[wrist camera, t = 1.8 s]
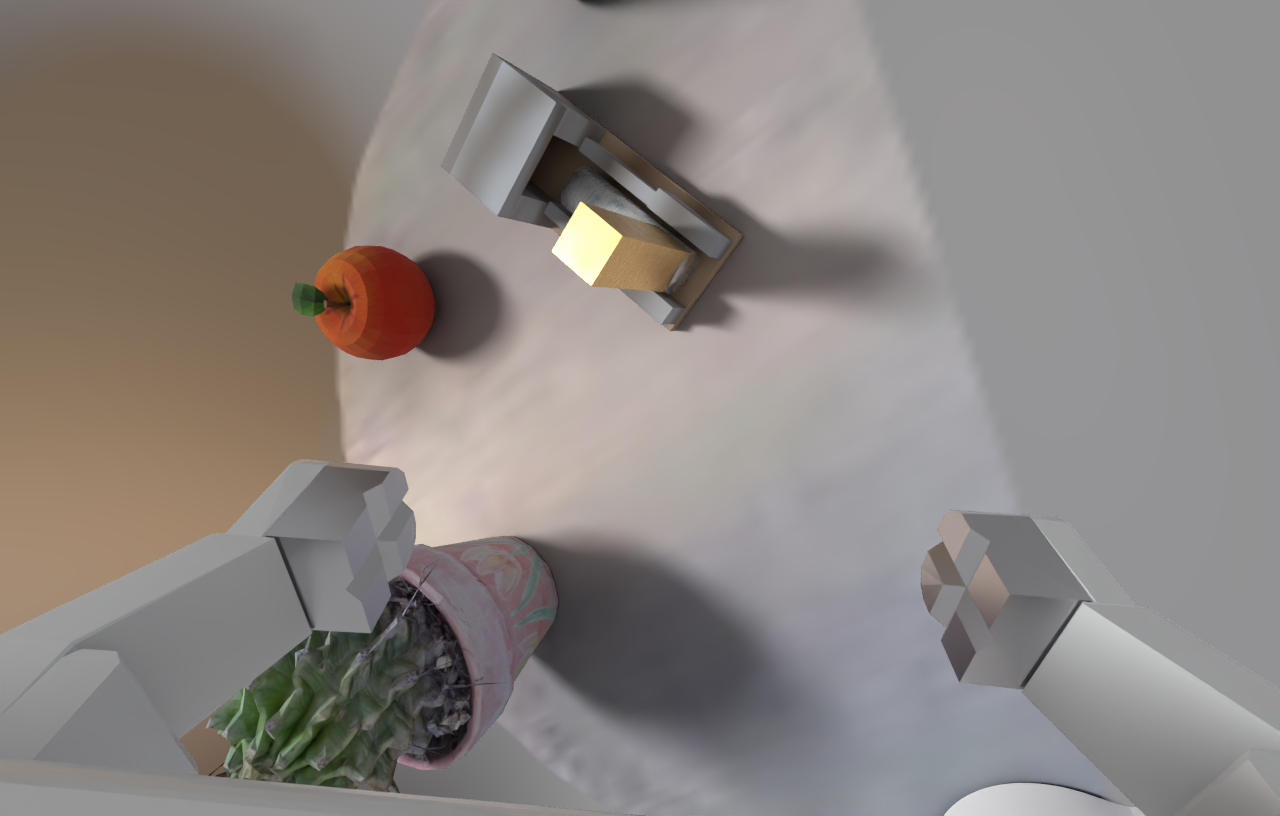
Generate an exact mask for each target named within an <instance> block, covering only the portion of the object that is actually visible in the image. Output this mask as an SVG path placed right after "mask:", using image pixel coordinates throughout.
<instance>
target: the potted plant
mask: <svg viewBox="0 0 1280 816" xmlns="http://www.w3.org/2000/svg"><path fill="white" fill-rule="evenodd" d="M388 585H389V589H390V593H391V597H390V599H389V601H388V602H387V604H386V606H385V608H384V610H383V612H382V614H381V616H380V618H379V619H378V621H377V623H376V625H375V627H374V629H373V631H372V633H358V632H339V631H321V630H311V631H312V634H311V635H309V636H308V637H307V638H306V639H304V640H303V641H302V642H301V643H299V644H298V645H297V646H296V647H294V648H293V649H292V650H291V651H289V652H288V653H287V654H286V655H284V656H283V657H282V658H280V659H279V660H278V661H277V662H275V663H274V664H273V665H272V666H270V667H269V668H268V669H267V670H265V671H264V672H263V673H262V674H260V675H259V676H258V677H257V678H255V679H254V680H253V681H252V682H250V683H249V684H248V685H247V686H245V687H244V688H243V689H241V690H240V691H239V692H238V693H236V695H235V696H234V697H233V698H232V700H230V701H229V702H228V703H227V704H225V705H224V706H223V707H222V708H221V709H219V710H218V711H217V712H216V713H215V714H213V715H212V716H211V718H210V720H209V722H208V724H207V727H206V728H214V729H218V730H219V731H218V733H217V734H218V735H220V736H223V737H224V738H226V739H227V740H229V741H230V742H231V748H230V750H229V753H228V756H227V758H226V761H225V762H224V763H223V764H224V769H225V772H224V773H221V774H218V775H216V776H215V777H226V778H237V779H248V780H259V781H270V782H281V783H292V784H303V785H314V786H325V787H337V788H348V789H357V787H358V786H360V785H363V784H365V783H367V784H368V785H370V786H371V787H372V788H373V789H374V790H375V791H381V792H389V790H388V788H389V787H390V785H391V786H392V787H393V788H394V789H395V790H396V791H397V792H398V793H400V792H399V790H398V788H397V786H396V784H395V782H394V780H393V775H394V771H395V767H396V763H397V762H399V763H402V764H405V765H408V766H411V767H414V768H417V769H420V770H432V769H447V768H448V767H450V766H451V765H452V764H454V763H455V762H457V761H458V760H460V759H461V758H462V757H464V756H465V755H466V754H467V753H468V752H469V751H470V750H471V749H472V747H473V746H474V745H475V744H476V743H477V741H478V740H479V739H480V738H481V737H482V736H483V735H484V734H485V732H486V731H487V730H488V729H489V728H490V727H491V725H492V724H493V723H494V722H495V721H496V720H497V719H498V717H499V716H500V715H501V714H502V712H503V710H504V708H505V706H506V704H507V702H508V700H509V698H510V696H511V694H512V691H513V684H514V681H515V680H516V678H517V677H518V675H519V673H520V672H521V670H522V669H523V667H524V666H525V664H526V662H527V661H528V659H529V658H530V656H531V655H532V653H533V652H534V650H535V649H536V647H537V646H538V644H539V643H540V641H541V640H542V638H543V637H544V635H545V634H546V633H547V631H548V630H549V628H550V627H551V625H552V624H553V622H554V621H555V618H556V612H557V606H558V601H559V600H558V596H557V591H556V587H555V582H554V579H553V576H552V574H551V571H550V569H549V566H548V565H547V563H546V562H545V561H544V560H543V559H542V558H541V557H540V555H539V554H538V553H537V552H536V551H535V550H534V548H533V547H531V546H530V545H528V544H526V543H525V542H523V541H521V540H519V539H518V538H516V537H491V538H485V539H479V540H473V541H467V542H462V543H456V544H450V545H444V546H438V547H429V546H426V545H423V544H418V545H414V547H413V551H412V556H411V558H410V560H409V562H408V564H407V566H406V568H405V570H404V572H403V573H401V574H400V575H398V576H397V577H395V578H394V579H392V580H391V581H389V582H388ZM223 764H222V765H223ZM222 765H221V766H222ZM219 767H220V766H219ZM219 767H218V768H219ZM218 768H217V769H218ZM217 769H216V770H217ZM216 770H214V771H213V772H212V773H214V772H215V771H216ZM212 773H211V774H212ZM211 774H209V775H208V776H210V775H211Z"/></svg>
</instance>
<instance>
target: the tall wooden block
mask: <svg viewBox="0 0 1280 816" xmlns="http://www.w3.org/2000/svg"><path fill="white" fill-rule="evenodd" d="M561 203H562V205H563V206H564V207H565V208H566V209H567V210H569V211H570V212H571V213H572V214H573V215H572V217H571V219H570V221H569V222H568V224H567V226H566V228H565V229H564V231H563V233H562V235H561V236H560V238H559V240H558V241H557V243H556V245H555V247H554V248H553V250H552V252H553V253H554V254H555V255H556V256H557V257H559V258H560V259H561V260H562V261H563V262H564V263H565V264H567V265H568V266H569V267H570V268H571V269H572V270H573V271H575V272H576V273H577V274H578V275H579V276H580V277H581V278H583V279H584V280H585V281H586V282H587V283H588V284H589V285H591V286H596V287H608V288H620V289H632V290H644V291H656V292H666V293H667V294H671V293H673V292H675V291H676V290H678V289H679V288H680V287H681V286H682V285H683V284H684V283H685V282H686V281H687V280H688V279H689V277H690V276H691V275H692V273H693V272H694V270H695V268H696V266H697V264H698V260H699V255H698V254H697V253H696V252H695V251H693V250H692V249H691V248H690V247H689V246H687V245H686V244H685V243H684V242H682V241H681V240H680V239H679V238H677V237H676V236H675V235H674V234H672V233H671V232H670V231H669V230H667V229H666V228H665V227H664V226H662V225H661V224H660V223H659V222H657V221H656V220H655V219H654V218H652V217H651V216H650V215H649V214H648V213H646V212H645V211H644V210H643V209H641V208H640V207H639V206H638V205H636V204H635V203H634V202H633V201H631V200H630V199H629V198H628V197H626V196H625V195H624V194H623V193H621V192H620V191H619V190H618V189H616V188H615V187H614V186H613V185H611V184H610V183H609V182H608V181H607V180H605V179H604V178H603V177H602V176H600V175H599V174H598V173H597V172H595V171H594V170H593V169H592V168H590V167H581V168H579V169H577V170H576V171H575V172H574V173H572V174H571V175H570V177H569V178H568V179H567V181H566V182H565V184H564V186H563V189H562V192H561Z"/></svg>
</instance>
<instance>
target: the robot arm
mask: <svg viewBox="0 0 1280 816" xmlns="http://www.w3.org/2000/svg"><path fill="white" fill-rule="evenodd" d="M407 491H408V485H407V482H406V478H405V474H404V472H403V471H401V470H400V469H398V468H393V467H382V466H372V465H362V464H352V463H342V462H326V461H315V460H305V459H301V460H298V461H296V462H293V463H291V464H290V465H289V466H288V467H287V468H286V469H285V470H284V471H283V473H282V474H281V475H280V476H279V477H278V478H277V479H276V480H275V481H274V482H273V483H272V484H271V485H270V486H269V487H268V489H267V490H266V491H265V492H264V493H263V494H262V495H261V496H260V497H259V498H258V499H257V500H256V501H255V502H254V503H253V505H252V506H251V507H250V508H249V509H248V510H247V511H246V512H245V513H244V514H243V515H242V516H241V517H240V518H239V520H238V521H237V522H236V523H235V524H234V525H233V526H232V527H231V528H230V529H229V530H228V531H227V532H226V533H225V534H219V533H214V534H212V535H209V536H207V537H205V538H203V539H201V540H198V541H196V542H194V543H192V544H190V545H188V546H186V547H184V548H182V549H180V550H177V551H175V552H173V553H171V554H169V555H167V556H165V557H163V558H161V559H158V560H156V561H154V562H152V563H150V564H148V565H146V566H144V567H142V568H140V569H137V570H135V571H133V572H131V573H129V574H127V575H125V576H123V577H121V578H118V579H116V580H114V581H112V582H110V583H108V584H106V585H104V586H101V587H99V588H97V589H95V590H93V591H91V592H89V593H87V594H85V595H83V596H81V597H78V598H77V599H74V600H72V601H70V602H68V603H66V604H64V605H62V606H59V607H57V608H55V609H53V610H51V611H49V612H47V613H45V614H42V615H40V616H38V617H36V618H34V619H32V620H30V621H28V622H26V623H23V624H22V625H19V626H17V627H15V628H13V629H11V630H9V631H7V632H5V633H3V634H1V635H0V816H645V815H634V814H623V813H612V812H601V811H589V810H579V809H568V808H557V807H546V806H535V805H523V804H512V803H502V802H491V801H479V800H469V799H458V798H445V797H436V796H425V795H413V794H402V793H391V792H381V791H369V790H358V789H348V788H337V787H325V786H314V785H303V784H292V783H281V782H270V781H259V780H248V779H237V778H226V777H215V776H204V775H199V774H198V769H197V764H196V763H195V761H194V760H193V758H192V757H191V756H190V754H189V753H188V751H187V750H186V748H185V747H184V746H183V744H182V743H181V741H180V740H179V739H180V738H181V737H182V736H184V735H185V734H186V733H187V732H188V731H190V730H191V729H192V728H194V727H195V726H196V725H197V724H199V723H200V722H201V721H202V720H204V719H205V718H206V717H208V716H209V715H210V714H211V713H213V712H214V711H215V710H216V709H217V708H219V707H220V706H221V705H223V704H224V703H225V702H226V701H228V700H229V699H230V698H231V697H233V696H234V695H235V694H236V693H238V692H239V691H240V690H241V689H243V688H244V687H245V686H247V685H248V684H249V683H250V682H252V681H253V680H254V679H255V678H257V677H258V676H259V675H260V674H262V673H263V672H264V671H265V670H267V669H268V668H269V667H270V666H272V665H273V664H274V663H275V662H277V661H278V660H279V659H280V658H282V657H283V656H284V655H286V654H287V653H288V652H289V651H291V650H292V649H293V648H294V647H296V646H297V645H298V644H299V643H301V642H302V641H303V640H304V639H306V638H307V637H308V636H309V635H311V634H312V631H311V630H321V631H339V632H358V633H372V631H373V629H374V627H375V625H376V623H377V621H378V619H379V618H380V616H381V614H382V612H383V610H384V608H385V606H386V604H387V602H388V601H389V599H390V597H391V593H390V589H389V585H388V582H389V581H391V580H392V579H394V578H395V577H397V576H398V575H400V574H401V573H403V572H404V570H405V568H406V566H407V564H408V562H409V560H410V558H411V556H412V551H413V547H414V543H415V539H416V522H415V517H414V512H413V511H412V510H411V509H410V508H409V507H408V506H407V505H406V504H405V503H404V502H403V501H402V499H403V498H404V496H405V494H406V493H407ZM937 530H938V532H939V534H940V536H941V538H942V540H943V541H942V542H941V543H939V544H938V545H936V546H935V547H933V548H932V549H930V550H929V551H928V552H927V554H926V557H925V560H924V562H923V565H922V567H921V589H922V594H923V599H924V602H925V604H926V606H927V609H928V611H929V614H930V615H931V616H933V617H934V618H935V619H936V620H937V621H938V622H940V623H941V624H942V625H943V626H944V627H945V628H946V629H945V632H944V634H943V637H942V639H941V642H942V644H943V646H944V648H945V651H946V653H947V655H948V657H949V660H950V662H951V664H952V667H953V669H954V671H955V673H956V676H957V678H958V680H959V682H960V683H969V684H978V685H987V686H996V687H1006V688H1015V689H1023V691H1022V693H1023V694H1024V695H1025V696H1026V697H1027V698H1028V699H1029V700H1030V701H1031V702H1032V703H1033V704H1034V705H1035V706H1036V707H1037V708H1038V709H1039V710H1040V711H1041V712H1042V713H1043V714H1044V715H1045V716H1046V717H1047V718H1048V719H1049V720H1050V721H1051V722H1052V723H1053V724H1054V725H1055V726H1056V727H1057V728H1058V729H1059V730H1060V731H1061V732H1062V733H1063V734H1064V735H1065V736H1066V737H1067V738H1068V739H1069V740H1070V741H1071V742H1072V743H1073V744H1074V745H1075V746H1076V747H1077V748H1078V749H1079V750H1080V751H1081V752H1082V753H1083V754H1084V755H1085V756H1086V757H1087V758H1088V759H1089V760H1090V761H1091V762H1092V763H1093V764H1094V765H1095V766H1096V767H1097V768H1098V769H1099V770H1100V771H1101V772H1102V773H1103V774H1104V775H1105V776H1106V777H1107V778H1108V779H1109V780H1110V781H1111V782H1112V783H1113V784H1114V785H1115V786H1116V787H1117V788H1118V789H1119V790H1120V791H1121V792H1122V793H1123V794H1124V795H1125V796H1126V797H1127V798H1128V799H1129V800H1130V801H1131V802H1132V803H1134V805H1135V806H1136V807H1128V806H1124V805H1120V804H1116V803H1113V802H1109V801H1106V800H1103V799H1100V798H1098V797H1095V796H1092V795H1089V794H1086V793H1083V792H1079V791H1076V790H1072V789H1068V788H1064V787H1059V786H1053V785H1046V784H1037V783H1010V784H1002V785H996V786H991V787H988V788H984V789H981V790H979V791H976V792H974V793H971V794H969V795H967V796H966V797H964V798H962V799H961V800H959V801H958V802H957V803H955V804H954V805H953V806H952V807H951V808H950V809H949V810H948V811H947V812H946V813H945V815H944V816H1280V688H1278V687H1276V686H1275V685H1273V684H1271V683H1270V682H1268V681H1267V680H1265V679H1263V678H1262V677H1260V676H1258V675H1257V674H1255V673H1254V672H1252V671H1250V670H1249V669H1247V668H1246V667H1244V666H1242V665H1241V664H1239V663H1238V662H1236V661H1234V660H1233V659H1231V658H1229V657H1228V656H1226V655H1225V654H1223V653H1221V652H1220V651H1218V650H1217V649H1215V648H1213V647H1212V646H1210V645H1208V644H1207V643H1205V642H1204V641H1202V640H1200V639H1199V638H1197V637H1195V636H1194V635H1192V634H1190V633H1189V632H1187V631H1186V630H1184V629H1183V628H1181V627H1179V626H1178V625H1176V624H1175V623H1173V622H1171V621H1170V620H1168V619H1167V618H1165V617H1163V616H1161V615H1160V614H1158V613H1157V612H1155V611H1153V610H1152V609H1150V608H1149V607H1141V606H1136V605H1135V604H1134V603H1133V602H1132V600H1131V599H1130V598H1129V597H1128V595H1127V594H1126V593H1125V592H1124V590H1123V589H1122V588H1121V587H1120V586H1119V584H1118V583H1117V582H1116V581H1115V579H1114V578H1113V577H1112V576H1111V574H1110V573H1109V572H1108V571H1107V570H1106V568H1105V567H1104V566H1103V565H1102V563H1101V562H1100V561H1099V560H1098V558H1097V557H1096V556H1095V555H1094V554H1093V552H1092V551H1091V550H1090V549H1089V547H1088V546H1087V545H1086V544H1085V542H1084V541H1083V540H1082V539H1081V537H1080V536H1079V535H1078V534H1077V532H1076V531H1075V530H1074V529H1073V528H1072V527H1071V525H1070V524H1069V523H1068V522H1067V521H1065V520H1064V519H1062V518H1060V517H1058V516H1049V515H1031V514H1020V515H1016V514H1003V513H989V512H974V511H960V510H950V511H949V512H948V513H946V514H945V515H944V516H943V518H942V520H941V522H940V524H939V526H938V529H937Z"/></svg>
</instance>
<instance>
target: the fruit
mask: <svg viewBox="0 0 1280 816" xmlns="http://www.w3.org/2000/svg"><path fill="white" fill-rule="evenodd" d="M292 299H293V305H294V309H296V310H297V311H298V312H299V313H301V314H302V315H308V316H315V320H316V322H317V324H318V326H319V328H320V330H321V331H322V333H323V334H324V335H325V336H326V337H327V339H329V340H330V341H331V342H332V343H333V344H334V345H335V346H337V347H338V348H340V349H341V350H343V351H344V352H346V353H348V354H351V355H353V356H356V357H359V358H365V359H372V360H385V359H389V358H393V357H397V356H400V355H404V354H406V353H408V352H409V351H410V350H412V349H413V348H415V347H416V346H417V345H418V344H419V343H421V342H422V341H423V339H424V338H425V336H426V334H427V333H428V331H429V329H430V327H431V326H432V323H433V319H434V315H435V299H434V294H433V290H432V287H431V285H430V283H429V281H428V279H427V278H426V276H425V274H424V273H423V271H422V270H421V269H420V268H419V267H418V266H417V265H416V264H415V263H414V262H413V261H412V260H410V259H409V258H407V257H406V256H404V255H402V254H400V253H398V252H396V251H394V250H392V249H389V248H385V247H382V246H355V247H352V248H350V249H347V250H345V251H342V252H340V253H338V254H336V255H333V257H331V258H330V259H329V260H328V261H327V262H326V263H325V264H324V265H323V267H322V268H321V269H320V270H319V271H318V274H317V277H316V280H315V285H314V286H310V285H307V284H302V283H295V287H294V290H293V294H292Z"/></svg>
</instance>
